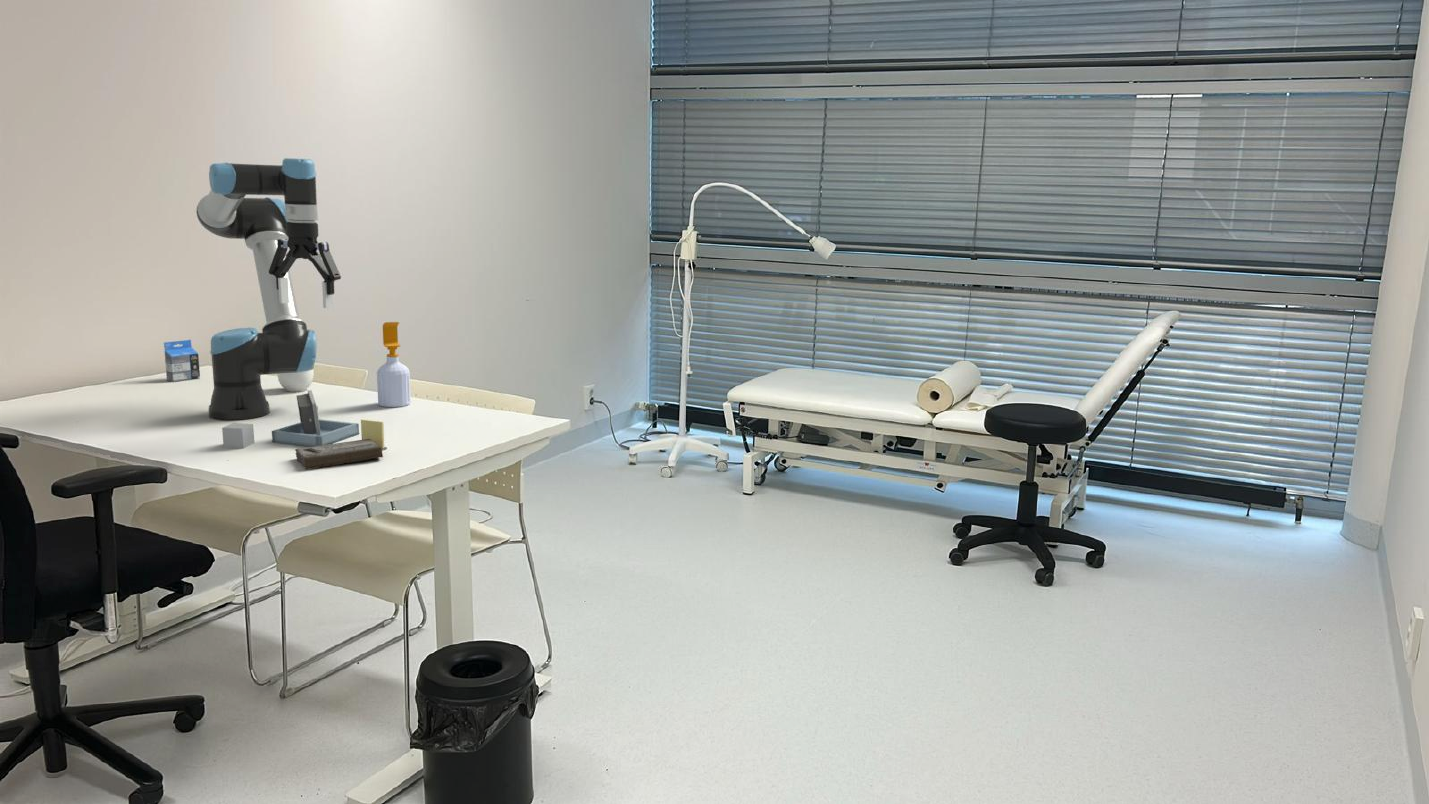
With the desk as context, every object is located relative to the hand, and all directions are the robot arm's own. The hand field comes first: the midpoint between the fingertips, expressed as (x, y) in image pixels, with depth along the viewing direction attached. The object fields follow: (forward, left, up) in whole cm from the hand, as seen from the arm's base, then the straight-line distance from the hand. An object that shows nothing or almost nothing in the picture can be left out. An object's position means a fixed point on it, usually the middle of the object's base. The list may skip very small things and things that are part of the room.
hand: (306, 305), depth 248 cm
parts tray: (+8, -9, -32) cm, 35 cm away
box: (+26, -23, -33) cm, 48 cm away
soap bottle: (+2, +32, -33) cm, 46 cm away
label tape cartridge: (-79, +35, -33) cm, 92 cm away
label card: (+27, -12, -32) cm, 44 cm away
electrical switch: (+6, -9, -31) cm, 32 cm away
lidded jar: (-37, +37, -33) cm, 61 cm away
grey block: (-4, -22, -32) cm, 39 cm away
